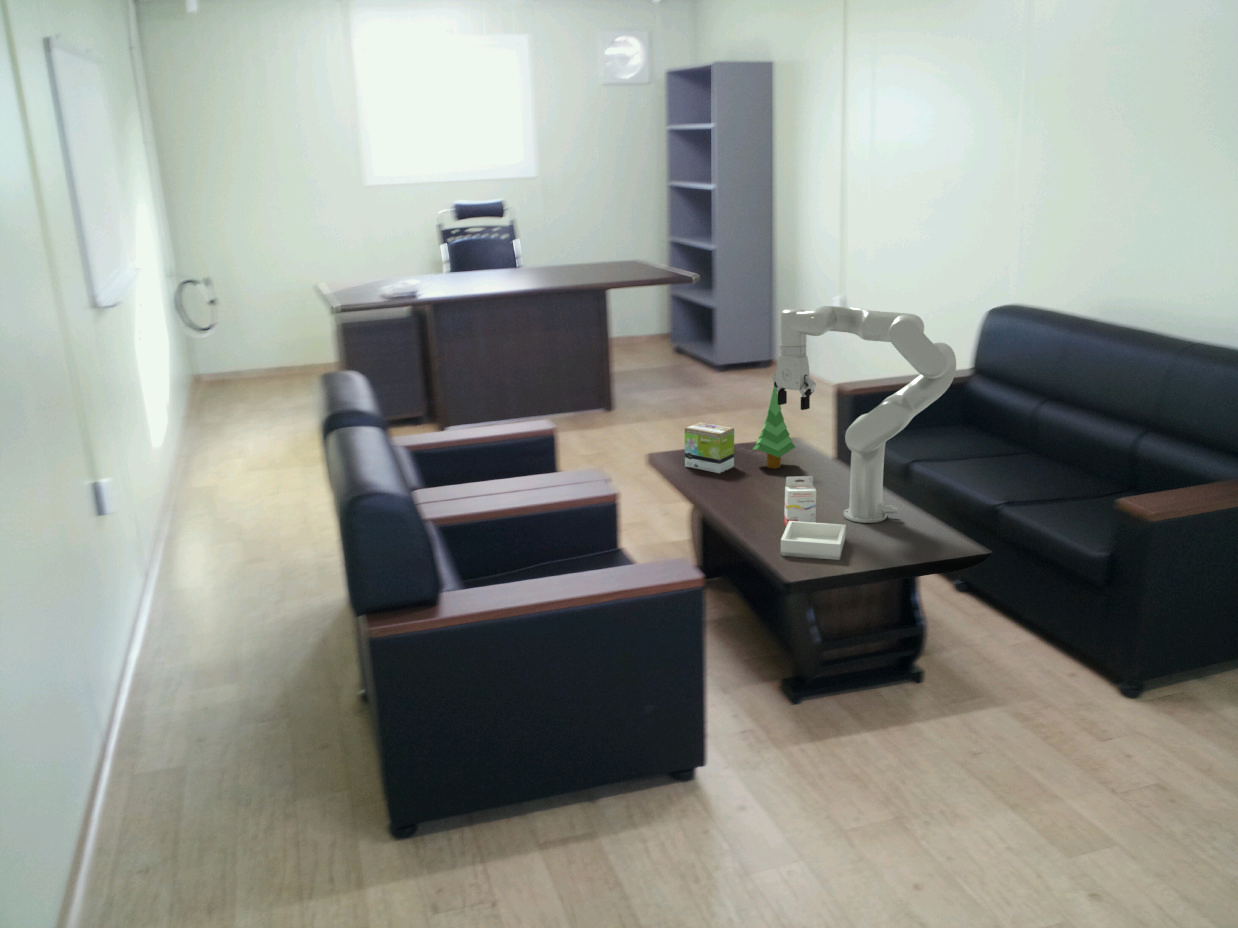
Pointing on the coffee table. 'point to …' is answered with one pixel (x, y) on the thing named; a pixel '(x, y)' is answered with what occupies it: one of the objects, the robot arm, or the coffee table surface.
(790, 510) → the ink cartridge box
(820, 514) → the coffee table surface
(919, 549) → the coffee table surface
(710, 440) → the tea box
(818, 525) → the box
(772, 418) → the decorative tree
